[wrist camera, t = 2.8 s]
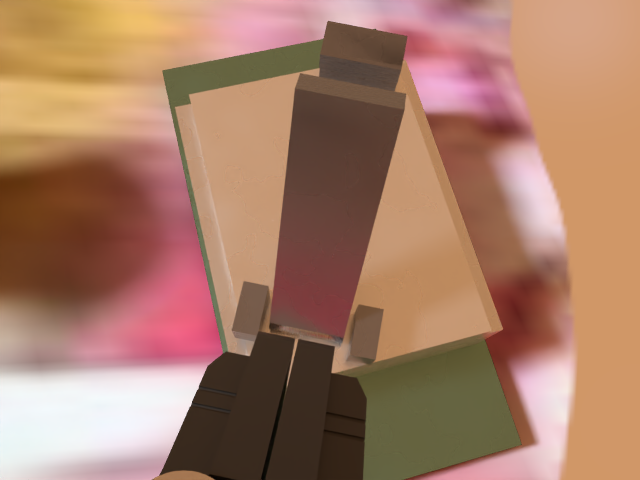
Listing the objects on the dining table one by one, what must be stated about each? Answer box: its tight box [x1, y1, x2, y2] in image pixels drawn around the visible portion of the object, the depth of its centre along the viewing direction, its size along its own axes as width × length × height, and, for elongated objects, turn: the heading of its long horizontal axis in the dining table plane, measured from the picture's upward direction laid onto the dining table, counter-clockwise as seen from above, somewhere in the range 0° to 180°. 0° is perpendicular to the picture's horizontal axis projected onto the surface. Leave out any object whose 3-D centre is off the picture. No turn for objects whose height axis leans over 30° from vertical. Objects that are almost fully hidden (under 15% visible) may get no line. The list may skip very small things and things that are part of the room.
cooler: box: [162, 21, 522, 480], centre depth 28 cm, size 24×13×8 cm, turn 15°
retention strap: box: [269, 73, 406, 343], centre depth 21 cm, size 11×3×1 cm
